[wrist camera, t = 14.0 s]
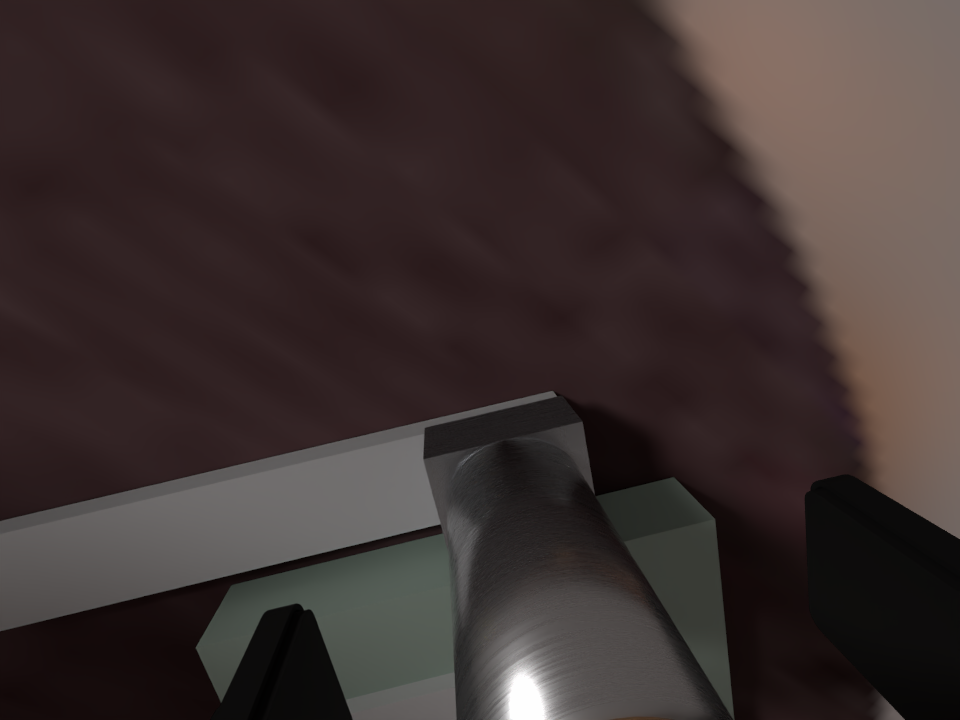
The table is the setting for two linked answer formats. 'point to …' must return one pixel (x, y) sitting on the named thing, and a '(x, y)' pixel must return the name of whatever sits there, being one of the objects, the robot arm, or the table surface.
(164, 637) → the table surface
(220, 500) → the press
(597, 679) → the lever
